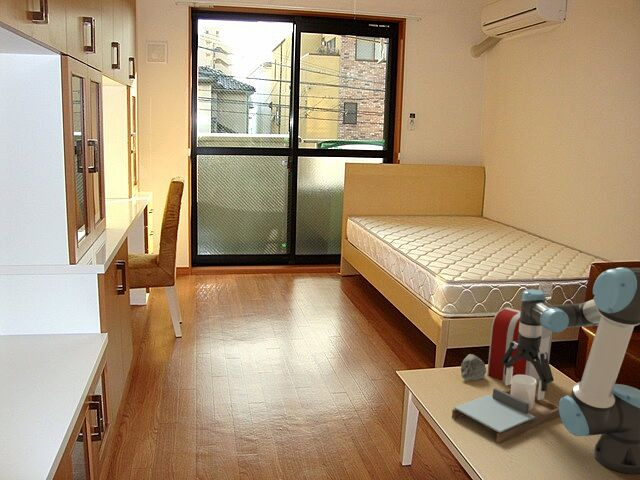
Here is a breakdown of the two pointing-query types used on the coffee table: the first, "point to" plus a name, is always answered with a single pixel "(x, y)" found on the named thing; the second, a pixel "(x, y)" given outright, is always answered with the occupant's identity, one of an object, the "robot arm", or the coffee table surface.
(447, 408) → the coffee table surface
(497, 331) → the red striped arch block
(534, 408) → the brown wooden frame
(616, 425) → the robot arm
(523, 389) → the mug
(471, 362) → the stone
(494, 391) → the lid
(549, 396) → the coffee table surface
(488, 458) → the coffee table surface
